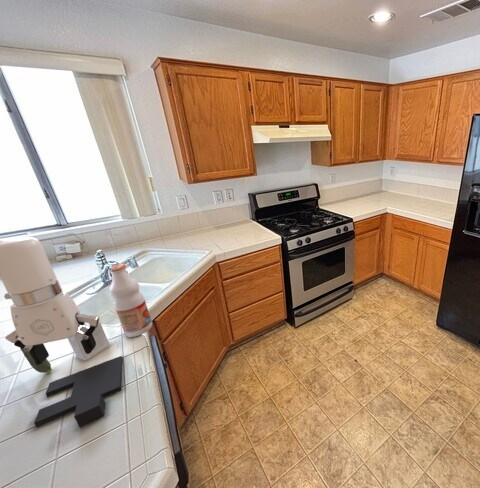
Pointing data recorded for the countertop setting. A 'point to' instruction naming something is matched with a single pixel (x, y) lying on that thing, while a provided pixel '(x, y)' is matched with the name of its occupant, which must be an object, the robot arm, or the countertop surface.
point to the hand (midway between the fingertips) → (67, 355)
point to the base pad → (82, 388)
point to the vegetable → (41, 368)
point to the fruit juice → (129, 302)
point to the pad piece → (90, 410)
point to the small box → (99, 339)
